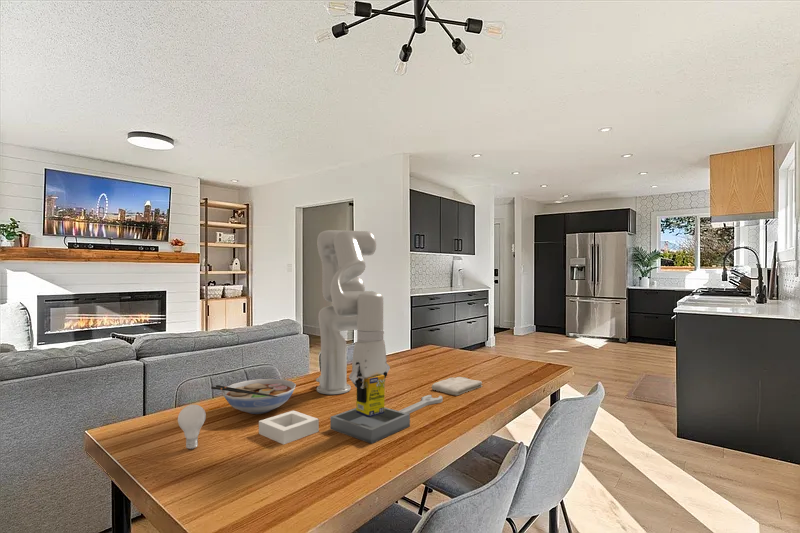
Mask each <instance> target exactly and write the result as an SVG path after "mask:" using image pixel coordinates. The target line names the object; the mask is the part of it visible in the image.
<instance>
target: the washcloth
mask: <svg viewBox="0 0 800 533" xmlns="http://www.w3.org/2000/svg"><path fill="white" fill-rule="evenodd" d="M476 388H477V389H479V388H483V382H482V381H481V380H478V379H476V380H475V379H470V378H468V377H462V376H457V377H449V378H448V377H447V378H446V379H442V380H439V381H438V382H434V383H433V384H432V385H431V390H433V391H435V390H436V391H437V392H439V391H440V392H441V393H445V394H448V395H453V396H456V397H457V396H460V395H463V394H465V392H466V393H469V392H471V391H474V390H476ZM468 391H469V392H468ZM440 392H439V393H440Z"/></svg>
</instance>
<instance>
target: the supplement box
mask: <svg viewBox="0 0 800 533" xmlns="http://www.w3.org/2000/svg"><path fill="white" fill-rule="evenodd" d="M362 380H363V379H361V381H360V382H361V383H362ZM385 382H386V378H385V375H382V374H380V375H376V376H373V377H369V378H366V384H365V388H366V403H362V402H358V401H357V398H356V399H355V400H356V401H355V402H356V407H355V408H356V412H357V413H358V414H361V415H363V416H366V417H368V418H369V417H372V416H376V415H379V414H384V407H385V396H386V393H385V388H386V387H385V385H386V384H385Z"/></svg>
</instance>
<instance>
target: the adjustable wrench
mask: <svg viewBox="0 0 800 533" xmlns="http://www.w3.org/2000/svg"><path fill="white" fill-rule="evenodd" d="M443 400H444V399H443V396H442V395H439V396H438V397H433V396H432V394H428V395H425V396H422V397H421V398H420V401H418V402H416V403H414V404H411V405H409V406H407V407H404V408H402V409H400V410H398V411H400V412H404V413H408V414H410V415H411V413H414V412H416V411H418V410H420V409H422V408H424V407H426V406H430V405H434V404H435V405H436V404H440V403H442V402H443Z"/></svg>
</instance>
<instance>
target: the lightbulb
mask: <svg viewBox="0 0 800 533" xmlns="http://www.w3.org/2000/svg"><path fill="white" fill-rule="evenodd" d="M206 417H207V414H206V410H205V409H204V408H203V407H202V406H201V405H198V404H189V405H187V406H185V407H183V408H182V409H181V410H180V412H179V413H178V417H177V424H178V426H179V428H180V429H181V430H182V431H183V433H184V438H185V448H186V449H188V450H193V449H196V448H197V447H198V446H199V443H198V442H199V441H198V438H199V434H200V431H201V429H202V426H203V425H204V424H205V422H206Z"/></svg>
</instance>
